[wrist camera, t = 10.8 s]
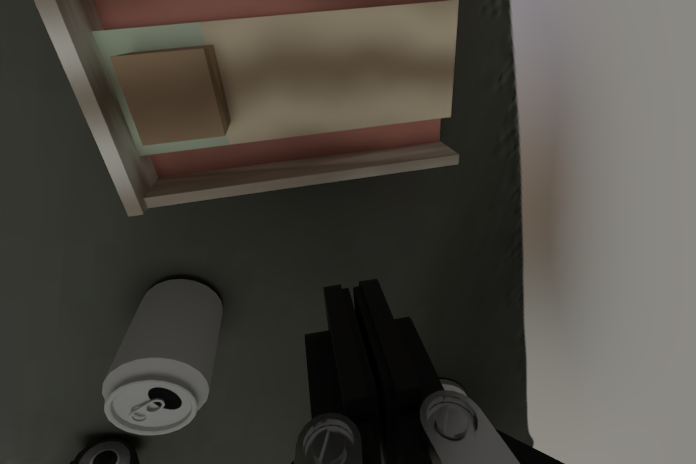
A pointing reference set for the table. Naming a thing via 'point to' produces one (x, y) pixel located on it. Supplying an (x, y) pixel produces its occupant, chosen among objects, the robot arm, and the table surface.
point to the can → (165, 359)
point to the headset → (107, 452)
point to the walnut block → (174, 93)
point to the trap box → (269, 90)
